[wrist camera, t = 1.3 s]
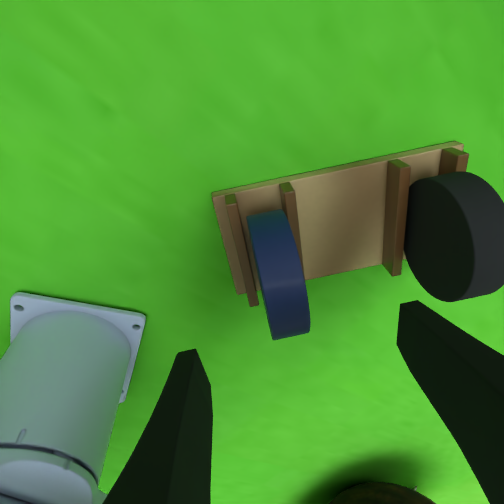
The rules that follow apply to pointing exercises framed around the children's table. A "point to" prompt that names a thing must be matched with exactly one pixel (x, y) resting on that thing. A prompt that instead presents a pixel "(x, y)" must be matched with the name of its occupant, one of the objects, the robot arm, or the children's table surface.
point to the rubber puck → (455, 236)
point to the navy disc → (279, 274)
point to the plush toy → (380, 495)
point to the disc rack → (334, 213)
